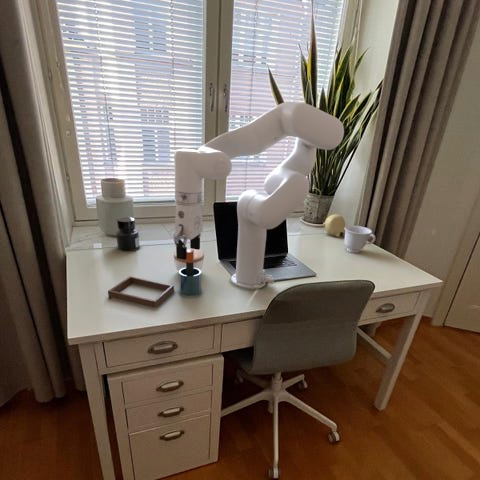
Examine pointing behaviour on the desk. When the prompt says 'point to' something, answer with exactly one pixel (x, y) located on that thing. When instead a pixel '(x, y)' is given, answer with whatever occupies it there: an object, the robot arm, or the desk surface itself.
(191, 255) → the marker
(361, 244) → the teacup
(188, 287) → the pen cup
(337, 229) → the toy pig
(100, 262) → the desk surface
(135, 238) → the ink bottle
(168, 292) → the desk tray
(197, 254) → the trinket box
